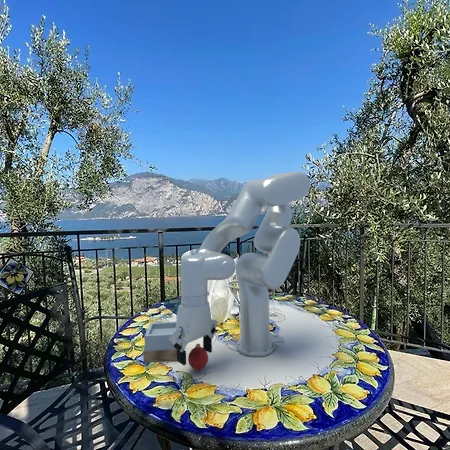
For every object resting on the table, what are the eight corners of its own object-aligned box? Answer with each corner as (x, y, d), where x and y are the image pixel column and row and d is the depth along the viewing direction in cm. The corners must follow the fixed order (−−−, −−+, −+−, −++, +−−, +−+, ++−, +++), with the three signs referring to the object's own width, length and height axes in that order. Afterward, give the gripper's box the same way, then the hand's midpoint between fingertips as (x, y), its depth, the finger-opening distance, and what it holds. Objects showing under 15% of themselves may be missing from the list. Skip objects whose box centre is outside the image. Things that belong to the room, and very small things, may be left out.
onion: (205, 377, 87) (204, 350, 86) (186, 375, 88) (184, 348, 87) (210, 365, 92) (209, 340, 92) (192, 364, 94) (191, 338, 93)
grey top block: (180, 334, 106) (180, 321, 105) (177, 349, 96) (177, 334, 95) (151, 336, 105) (150, 322, 105) (145, 351, 95) (144, 336, 95)
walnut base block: (183, 345, 107) (182, 333, 106) (179, 362, 96) (178, 350, 95) (151, 346, 106) (150, 335, 106) (143, 363, 96) (143, 351, 95)
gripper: (207, 290, 97) (208, 342, 98) (161, 303, 84) (162, 363, 86) (225, 295, 91) (225, 350, 93) (178, 310, 79) (179, 374, 80)
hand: (195, 356), depth 89 cm, fingers open, 9 cm apart
